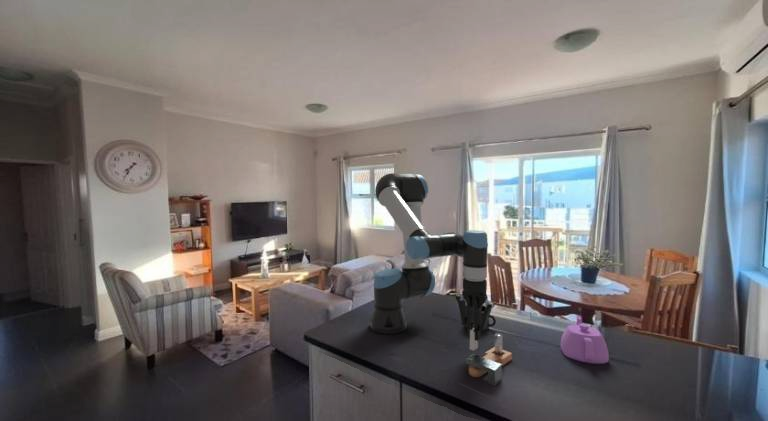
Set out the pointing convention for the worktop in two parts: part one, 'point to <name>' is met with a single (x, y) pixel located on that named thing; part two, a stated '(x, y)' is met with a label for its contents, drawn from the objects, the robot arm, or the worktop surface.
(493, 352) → the link
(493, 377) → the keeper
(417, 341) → the worktop surface
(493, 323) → the mug
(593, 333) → the teapot
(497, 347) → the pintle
